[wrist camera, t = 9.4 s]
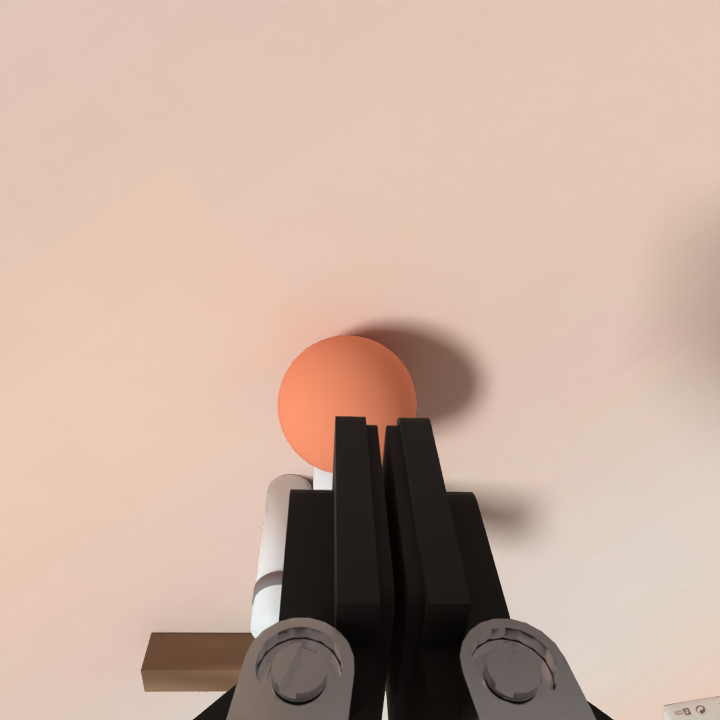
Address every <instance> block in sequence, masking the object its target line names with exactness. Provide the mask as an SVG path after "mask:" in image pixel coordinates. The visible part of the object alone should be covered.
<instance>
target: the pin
mask: <svg viewBox="0 0 720 720" xmlns="http://www.w3.org/2000/svg"><path fill="white" fill-rule="evenodd" d="M290 489H305V490H313V488H312V485H311V484H310V483H309V482H308V481H307V480H306V479H305V478H303V477H300V476H297V475H283V476H280V477H278V478H276V479H275V480H273V481H272V482H271V484H270V485H269V488H268V495H267V502H266V510H265V518H264V526H263V533H262V541H261V549H260V556H259V564H258V572H257V580H256V584H255V587H254V594H253V602H252V604H253V610H252V618H251V626H250V630H251V633H252V635H253V636H254V638H255V639H256V638H257V637H258V636H259V634H260V633H261V632H262V631H263V630H265V629H267V628H268V627H270V626H272V625H273V624H275V623H277V622H279V611H280V599H281V588H282V576H283V564H284V553H285V541H286V530H287V518H288V506H289V495H290Z"/></svg>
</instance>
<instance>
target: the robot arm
mask: <svg viewBox="0 0 720 720" xmlns="http://www.w3.org/2000/svg"><path fill="white" fill-rule="evenodd" d="M385 687H386V695H387V708H388V720H613V719H612V718H610V717H609V716H608V715H606V714H605V713H603V712H602V711H601V710H599V709H598V708H597V707H595V706H594V705H592V704H591V703H590V702H588V701H587V700H586V698H585V696H584V694H583V692H582V690H581V688H580V686H579V684H578V682H577V680H576V679H575V677H574V675H573V673H572V671H571V669H570V667H569V665H568V663H567V661H566V659H565V657H564V656H563V654H562V653H561V651H560V650H559V648H558V647H557V645H556V644H555V643H554V642H553V641H552V640H551V639H550V638H549V637H547V636H546V635H545V634H544V633H543V632H542V631H540V630H538V629H536V628H534V627H533V626H531V625H529V624H527V623H524V622H520V621H516V620H513V619H510V616H509V612H508V609H507V605H506V602H505V598H504V595H503V591H502V588H501V584H500V580H499V577H498V573H497V570H496V566H495V563H494V559H493V556H492V552H491V549H490V545H489V542H488V538H487V535H486V531H485V528H484V524H483V520H482V517H481V513H480V510H479V506H478V503H477V500H476V497H475V495H474V494H473V493H472V492H446V489H445V484H444V480H443V475H442V471H441V467H440V462H439V458H438V453H437V449H436V445H435V440H434V436H433V431H432V427H431V423H430V419H429V418H398V420H397V426H396V425H387V426H386V430H385V440H384V451H383V462H382V463H381V453H380V444H379V434H378V426H377V425H366V417H356V416H335V433H334V457H333V480H332V490H305V489H290V495H289V506H288V518H287V530H286V541H285V553H284V564H283V576H282V588H281V599H280V611H279V622H277V623H275V624H273V625H272V626H270V627H268V628H267V629H265V630H263V631H262V632H261V633H260V634H259V636H258V637H257V638H256V639H255V640H254V641H253V642H252V644H251V646H250V648H249V650H248V652H247V654H246V656H245V659H244V662H243V665H242V669H241V672H240V675H239V679H238V682H237V684H236V685H235V686H233V687H232V688H231V689H230V690H229V691H227V692H226V693H225V694H224V695H223V696H221V697H220V698H219V699H218V700H216V701H215V702H214V703H213V704H212V705H210V706H209V707H208V708H207V709H206V710H204V711H203V712H202V713H201V714H199V715H198V716H197V717H196V718H195V719H193V720H382V712H383V703H384V695H385Z"/></svg>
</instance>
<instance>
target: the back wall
mask: <svg viewBox="0 0 720 720" xmlns="http://www.w3.org/2000/svg"><path fill="white" fill-rule="evenodd" d="M254 640H255V638H254V636H253V635H252V633H151V637H150V640H149V644H148V647H147V651H146V654H145V658H144V661H143V665H142V668H141V674H142V679H143V684H144V690H145V692H166V691H229V690H230V689H231V688H232V687H233V686H235V685H236V684H237V682H238V679H239V675H240V672H241V669H242V665H243V662H244V659H245V656H246V654H247V652H248V650H249V648H250V646H251V644H252V642H253V641H254ZM385 691H386V687H385Z"/></svg>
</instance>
